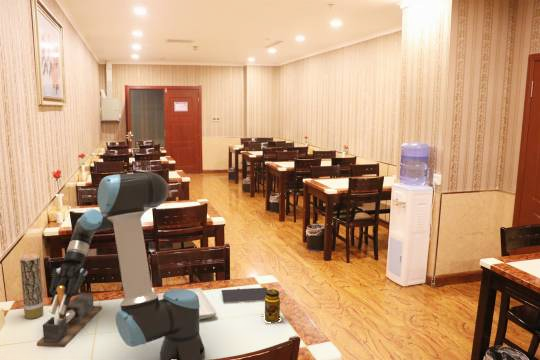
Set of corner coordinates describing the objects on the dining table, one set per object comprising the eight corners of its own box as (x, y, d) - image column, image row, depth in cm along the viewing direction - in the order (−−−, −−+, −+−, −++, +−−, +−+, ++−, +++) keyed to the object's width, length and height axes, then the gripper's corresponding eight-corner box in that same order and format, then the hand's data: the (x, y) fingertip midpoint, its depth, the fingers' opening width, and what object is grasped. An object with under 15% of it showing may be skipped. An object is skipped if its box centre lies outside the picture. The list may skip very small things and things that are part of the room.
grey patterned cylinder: (35, 320, 176) (31, 260, 172) (20, 318, 177) (16, 258, 173) (47, 312, 183) (43, 254, 179) (32, 311, 184) (28, 253, 180)
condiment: (266, 324, 176) (266, 296, 174) (260, 315, 184) (260, 287, 182) (283, 322, 178) (284, 294, 176) (277, 313, 186) (277, 285, 184)
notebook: (266, 290, 210) (221, 293, 206) (266, 287, 209) (221, 290, 206) (271, 302, 197) (223, 305, 194) (271, 298, 197) (223, 301, 193)
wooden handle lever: (79, 306, 181) (77, 269, 179) (87, 306, 181) (85, 270, 179) (56, 327, 164) (54, 286, 162) (65, 327, 164) (62, 287, 161)
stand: (78, 307, 188) (77, 290, 186) (101, 308, 187) (101, 291, 186) (37, 345, 158) (35, 325, 156) (64, 347, 157) (63, 326, 156)
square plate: (138, 304, 193) (138, 295, 192) (200, 294, 204) (200, 286, 203) (147, 333, 168) (147, 323, 168) (217, 320, 179) (217, 311, 178)
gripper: (98, 259, 177) (81, 317, 163) (61, 258, 178) (40, 316, 164) (91, 250, 171) (73, 310, 157) (53, 249, 172) (30, 308, 158)
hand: (56, 313), depth 161 cm, fingers closed on wooden handle lever, 2 cm apart
